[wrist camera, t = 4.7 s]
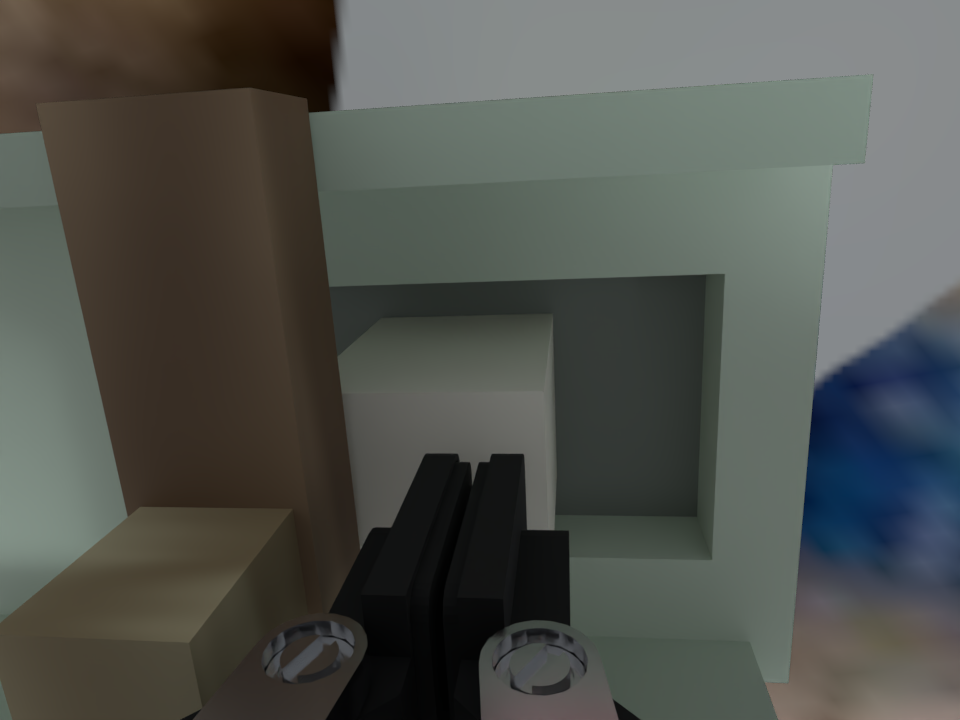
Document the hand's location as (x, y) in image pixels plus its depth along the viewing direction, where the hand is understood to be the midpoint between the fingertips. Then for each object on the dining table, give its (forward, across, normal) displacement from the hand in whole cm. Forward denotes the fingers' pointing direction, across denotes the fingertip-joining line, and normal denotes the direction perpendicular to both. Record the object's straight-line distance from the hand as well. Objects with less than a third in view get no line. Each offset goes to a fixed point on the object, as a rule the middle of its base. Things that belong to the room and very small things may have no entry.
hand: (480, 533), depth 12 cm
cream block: (+7, +1, 0) cm, 7 cm away
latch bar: (+1, +4, 0) cm, 4 cm away
